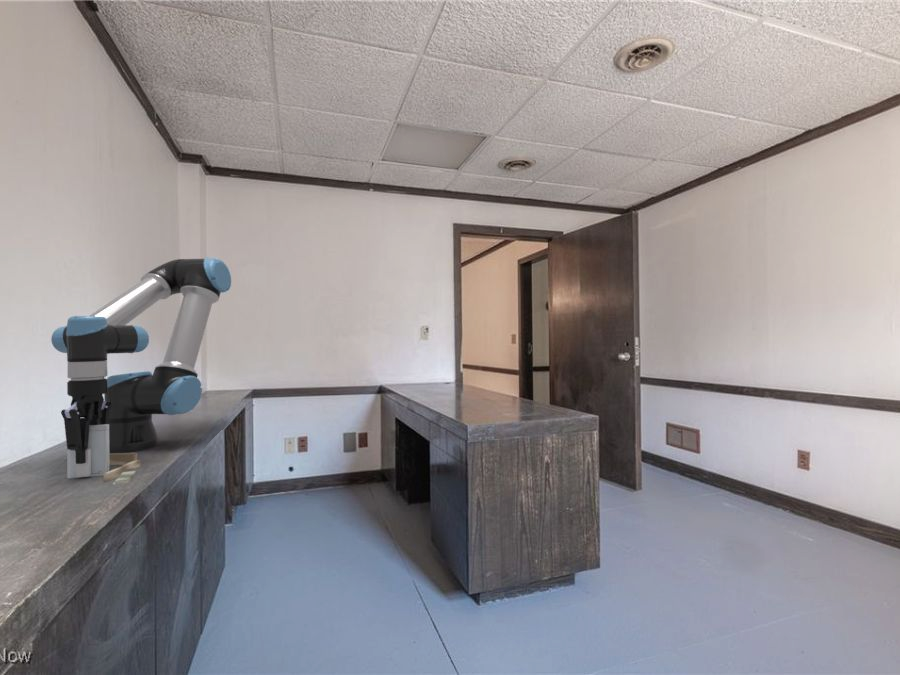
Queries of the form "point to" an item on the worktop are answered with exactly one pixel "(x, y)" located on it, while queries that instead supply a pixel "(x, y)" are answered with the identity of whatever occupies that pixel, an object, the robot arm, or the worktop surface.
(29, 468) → the worktop surface
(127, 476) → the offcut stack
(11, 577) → the worktop surface
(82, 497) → the worktop surface
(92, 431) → the hard drive
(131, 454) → the birch rack
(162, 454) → the worktop surface
